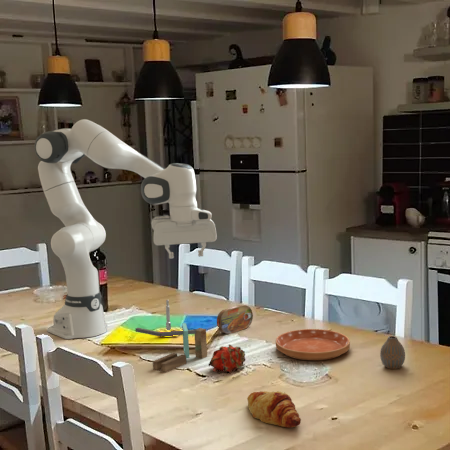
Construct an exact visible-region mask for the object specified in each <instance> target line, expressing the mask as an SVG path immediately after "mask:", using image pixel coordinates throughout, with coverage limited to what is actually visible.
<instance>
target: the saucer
mask: <svg viewBox="0 0 450 450" xmlns="http://www.w3.org/2000/svg"><path fill="white" fill-rule="evenodd" d="M275 348H276V349H277V351H279V352H280V353H282V354H284V355H285V356H287V357H290V358H292V359H297V360H303V361H324V360H332V359H335V358H338V357H340V356H342V355H343V354H345V353H347V352H348V351H349V350H350V348H351V340H350V338H349V337H348V336H347V335H345V334H343V333H341V332H339V331H334V330H328V329H322V328H321V329H320V328H305V329H304V328H302V329H296V330H290V331H287V332H284V333H281V334H279V335H277V337H276V338H275Z"/></svg>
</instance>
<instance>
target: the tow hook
mask: <svg viewBox="0 0 450 450" xmlns="http://www.w3.org/2000/svg"><path fill="white" fill-rule="evenodd" d="M169 301H170V300H169V299H166V301H165V302H166V305H165V318H166V319H165V321H166V322H165V329H167V330H170V329H171V328H172V325H171V315H170V314H171V313H170V311H171V310H170V304H169Z"/></svg>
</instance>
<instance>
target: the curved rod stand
mask: <svg viewBox="0 0 450 450" xmlns="http://www.w3.org/2000/svg"><path fill="white" fill-rule="evenodd" d="M135 332H136V333H140V334H145V335H150V336H155V337H159V336H160V337H159V338H162V337H161V336H173V335H179V336H183V335H184V332H183V331H171V332H160V331H157V330H152V329H150V330H149V329H146V328H141V327H136V328H135ZM188 335H194V348H195V349H194V350H195V358H197V359H204V358H207V357H208V345H207V343H208V342H207V329H206V328H203V327H199V328H195V329H188Z"/></svg>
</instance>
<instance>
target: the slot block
mask: <svg viewBox="0 0 450 450" xmlns="http://www.w3.org/2000/svg"><path fill="white" fill-rule="evenodd" d="M186 364H187V358H186V355H185V354H180V355H178V353H176V352H172V353H169V354H166V355H165V356H161V357H160V358H157V359H155V360H152V369H153V371H158V372H161V373H168V372H171V371H174V370H175V369H178V368H180V367H182V366H184V365H186Z"/></svg>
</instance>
